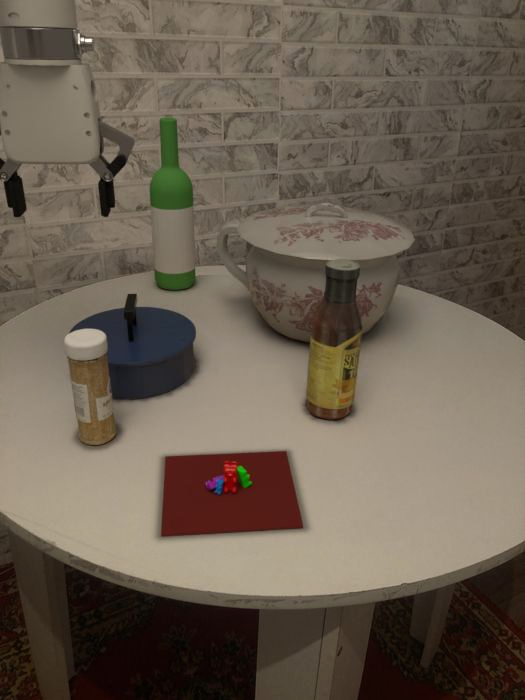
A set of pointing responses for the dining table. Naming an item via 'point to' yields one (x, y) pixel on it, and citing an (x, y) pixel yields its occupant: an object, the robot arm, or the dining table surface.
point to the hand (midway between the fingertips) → (63, 213)
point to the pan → (151, 377)
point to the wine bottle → (172, 215)
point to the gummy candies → (229, 479)
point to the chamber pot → (315, 261)
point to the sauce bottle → (335, 344)
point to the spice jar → (91, 385)
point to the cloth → (228, 495)
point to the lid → (141, 333)
